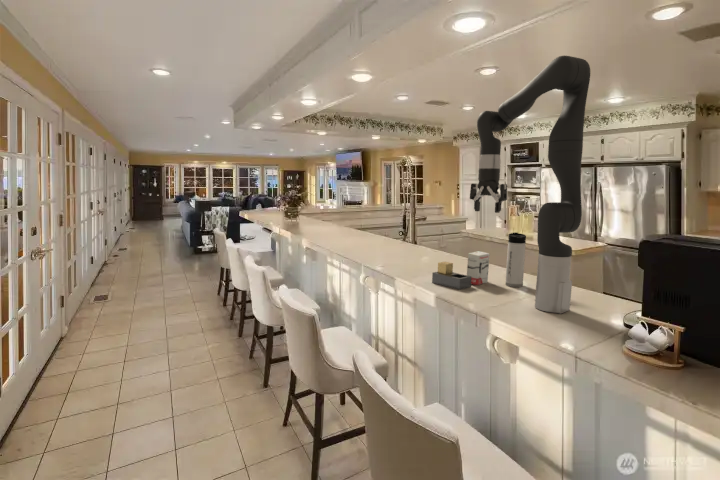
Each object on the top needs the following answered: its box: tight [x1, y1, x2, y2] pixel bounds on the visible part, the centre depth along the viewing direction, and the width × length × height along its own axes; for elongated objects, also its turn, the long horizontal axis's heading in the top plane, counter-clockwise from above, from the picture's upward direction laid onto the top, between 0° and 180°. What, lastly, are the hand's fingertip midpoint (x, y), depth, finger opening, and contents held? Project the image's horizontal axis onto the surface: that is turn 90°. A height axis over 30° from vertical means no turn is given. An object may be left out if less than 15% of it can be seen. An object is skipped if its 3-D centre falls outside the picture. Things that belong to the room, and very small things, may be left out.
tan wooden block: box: [437, 261, 454, 275], centre depth 159 cm, size 4×4×8 cm
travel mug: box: [505, 232, 527, 288], centre depth 157 cm, size 6×7×20 cm
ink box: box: [466, 250, 491, 286], centre depth 161 cm, size 8×5×12 cm, turn 134°
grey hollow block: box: [431, 271, 472, 291], centre depth 157 cm, size 13×7×4 cm, turn 40°
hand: (487, 211), depth 153 cm, fingers open, 8 cm apart
